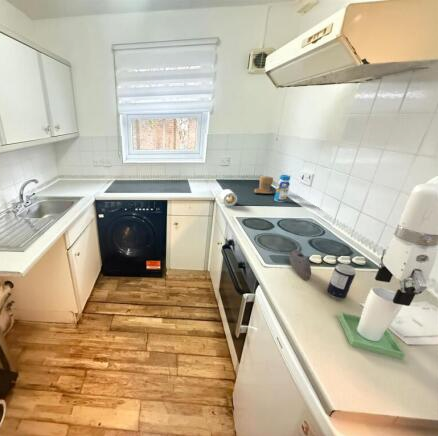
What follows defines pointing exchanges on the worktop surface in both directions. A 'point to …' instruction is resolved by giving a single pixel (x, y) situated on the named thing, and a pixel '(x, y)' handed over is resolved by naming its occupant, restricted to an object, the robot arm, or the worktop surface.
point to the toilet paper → (231, 200)
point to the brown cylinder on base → (264, 185)
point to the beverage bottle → (282, 188)
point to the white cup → (377, 313)
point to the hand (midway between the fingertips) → (390, 291)
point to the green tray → (383, 346)
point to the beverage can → (341, 281)
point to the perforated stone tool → (300, 264)
